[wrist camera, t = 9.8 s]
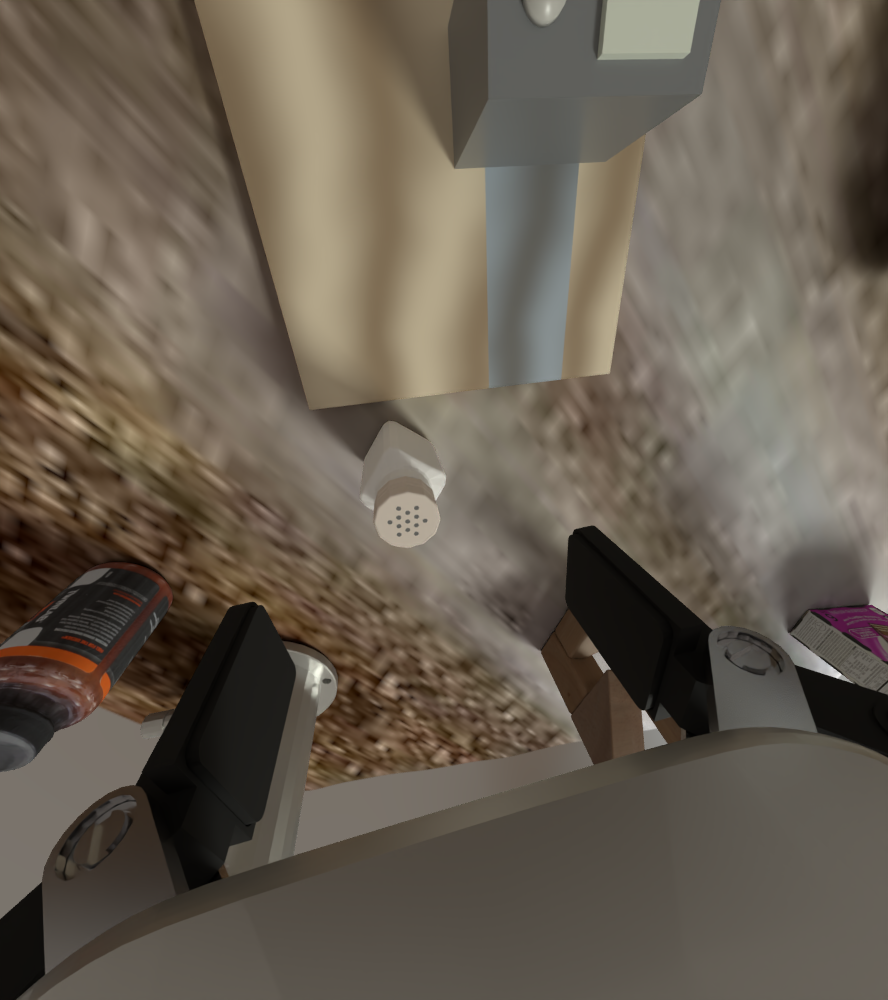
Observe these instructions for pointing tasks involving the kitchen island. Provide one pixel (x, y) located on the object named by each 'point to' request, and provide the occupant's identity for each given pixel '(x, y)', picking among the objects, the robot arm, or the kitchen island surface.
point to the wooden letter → (597, 696)
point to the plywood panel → (409, 210)
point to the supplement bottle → (74, 654)
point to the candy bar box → (849, 642)
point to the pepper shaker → (402, 485)
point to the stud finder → (570, 75)
